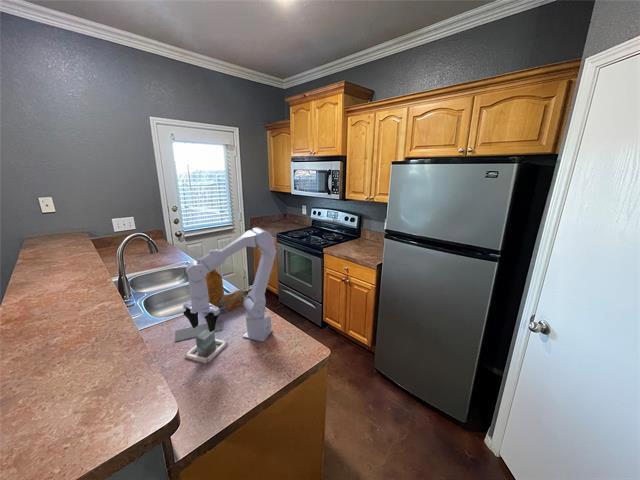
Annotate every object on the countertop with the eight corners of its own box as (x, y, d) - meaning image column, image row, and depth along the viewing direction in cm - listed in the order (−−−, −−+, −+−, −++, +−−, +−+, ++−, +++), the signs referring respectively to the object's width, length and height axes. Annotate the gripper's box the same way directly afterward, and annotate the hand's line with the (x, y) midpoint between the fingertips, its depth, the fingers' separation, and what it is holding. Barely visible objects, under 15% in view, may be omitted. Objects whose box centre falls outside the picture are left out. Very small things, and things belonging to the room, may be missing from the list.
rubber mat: (220, 320, 117) (220, 319, 117) (222, 330, 110) (222, 329, 110) (175, 331, 110) (175, 330, 109) (174, 342, 103) (174, 341, 103)
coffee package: (217, 296, 140) (212, 257, 134) (227, 304, 132) (223, 263, 126) (198, 302, 133) (192, 262, 128) (207, 311, 125) (202, 268, 119)
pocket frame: (227, 344, 101) (227, 341, 101) (207, 363, 91) (207, 360, 91) (206, 339, 105) (206, 336, 104) (185, 357, 95) (184, 354, 94)
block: (216, 347, 100) (214, 331, 98) (206, 356, 95) (204, 339, 93) (207, 345, 101) (205, 329, 99) (197, 353, 96) (195, 337, 95)
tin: (219, 315, 121) (217, 299, 119) (216, 313, 124) (214, 297, 121) (248, 304, 132) (247, 289, 129) (245, 302, 134) (244, 287, 132)
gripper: (173, 296, 90) (179, 330, 94) (207, 303, 86) (212, 338, 90) (189, 288, 97) (194, 320, 101) (222, 294, 92) (225, 327, 96)
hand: (203, 328), depth 95 cm, fingers open, 7 cm apart
